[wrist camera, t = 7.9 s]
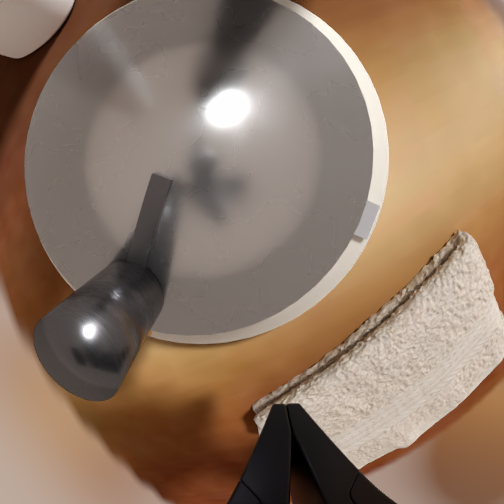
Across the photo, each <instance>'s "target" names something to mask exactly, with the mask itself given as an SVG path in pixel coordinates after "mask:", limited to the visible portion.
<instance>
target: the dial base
mask: <svg viewBox="0 0 504 504" xmlns="http://www.w3.org/2000/svg"><path fill="white" fill-rule="evenodd" d="M135 1H138V0H134V1H132V2H130V3H128V4H126V5H125V6H127V5H129V4H131V3H133V2H135ZM273 1H275V2H277V3H279V4H281V5H283V6H285V7H287V8H289V9H291V10H293V11H294V12H296V13H297V14H299V15H300V16H302V17H303V18H305V19H306V20H307V21H309V22H310V23H312V24H313V25H314V26H315V27H316V28H317V29H318V30H319V31H320V32H322V33H323V34H324V35H325V36H326V37H327V38H328V39H329V40H330V41H331V43H332V44H333V45H334V46H335V47H336V49H337V50H338V51H339V52H340V54H341V55H342V56H343V57H344V59H345V61H346V62H347V64H348V66H349V67H350V69H351V71H352V72H353V74H354V76H355V78H356V80H357V82H358V84H359V87H360V89H361V92H362V94H363V97H364V99H365V102H366V106H367V110H368V114H369V118H370V122H371V128H372V138H373V150H374V151H373V170H372V179H371V184H370V189H369V194H368V199H367V202H366V205H365V208H364V211H363V214H362V217H361V220H360V222H359V225H358V227H357V229H356V231H355V233H354V235H353V237H352V239H351V241H350V242H349V244H348V246H347V248H346V249H345V251H344V252H343V254H342V255H341V256H340V258H339V259H338V261H337V262H336V264H335V265H334V266H333V268H332V269H331V270H330V271H329V272H328V273H327V274H326V275H325V276H324V277H323V279H322V280H321V281H320V282H319V283H318V284H317V285H316V286H315V287H314V288H312V289H311V290H310V291H309V292H308V293H306V294H305V295H304V296H303V297H302V298H300V299H299V300H298V301H296V302H295V303H293V304H292V305H290V306H289V307H287V308H285V309H284V310H282V311H281V312H279V313H277V314H275V315H273V316H271V317H269V318H267V319H265V320H263V321H260V322H258V323H256V324H253V325H250V326H247V327H244V328H240V329H237V330H234V331H229V332H223V333H217V334H211V335H191V336H187V335H175V334H165V333H160V332H156V331H151V330H150V332H149V334H148V335H147V336H150V337H153V338H156V339H161V340H166V341H172V342H178V343H190V344H212V343H225V342H231V341H236V340H241V339H245V338H250V337H253V336H256V335H259V334H262V333H265V332H267V331H270V330H273V329H275V328H277V327H279V326H281V325H283V324H285V323H287V322H289V321H291V320H293V319H295V318H297V317H298V316H300V315H301V314H303V313H304V312H306V311H307V310H308V309H310V308H311V307H313V306H314V305H316V304H317V303H318V302H319V301H320V300H321V299H323V298H324V297H325V296H326V295H327V294H328V293H329V292H330V291H332V290H333V289H334V288H335V287H336V286H337V284H338V283H339V282H340V281H341V280H342V279H343V278H344V276H345V275H346V274H347V273H348V272H349V271H350V269H351V268H352V267H353V265H354V264H355V262H356V261H357V259H358V258H359V256H360V254H361V253H362V251H363V250H364V248H365V247H366V244H367V242H368V240H369V238H370V236H371V234H372V232H373V230H374V228H375V226H376V223H377V220H378V217H379V214H380V211H381V207H382V204H383V201H384V196H385V190H386V184H387V178H388V162H389V147H388V138H387V130H386V123H385V119H384V115H383V111H382V108H381V104H380V101H379V98H378V95H377V93H376V91H375V88H374V86H373V84H372V82H371V79H370V77H369V75H368V73H367V72H366V70H365V69H364V67H363V65H362V64H361V62H360V61H359V59H358V57H357V56H356V54H355V53H354V52H353V51H352V49H351V48H350V47H349V46H348V45H347V44H346V42H345V41H344V40H343V39H342V38H341V37H340V36H339V35H338V34H337V33H336V32H335V31H334V30H333V29H332V28H331V27H329V26H328V25H327V24H326V23H325V22H324V21H322V20H321V19H320V18H319V17H317V16H316V15H314V14H313V13H311V12H310V11H308V10H306V9H305V8H303V7H302V6H300V5H298V4H296V3H294V2H292V1H290V0H273ZM125 6H123V7H125ZM123 7H121V8H123ZM121 8H119V9H121ZM119 9H117V10H119ZM117 10H115V11H114V12H116V11H117ZM114 12H112V13H114ZM112 13H111V14H112ZM111 14H109V15H111ZM109 15H108V16H109ZM108 16H106V17H108ZM106 17H105V18H106ZM105 18H104V19H105ZM102 20H103V19H102ZM102 20H101V21H102ZM98 23H99V22H98ZM95 25H96V24H95ZM95 25H94V26H95ZM94 26H93V27H94ZM87 32H88V31H87ZM87 32H86V33H87ZM34 226H35V225H34ZM36 231H37V230H36ZM40 241H41V240H40ZM41 243H42V242H41ZM42 245H43V244H42ZM43 247H44V246H43ZM44 249H45V248H44ZM45 251H46V250H45ZM46 253H47V252H46ZM47 255H48V253H47ZM48 256H49V255H48ZM49 258H50V257H49ZM50 260H51V258H50ZM51 262H52V263H53V261H52V260H51ZM53 265H54V266H55V264H54V263H53ZM55 268H56V269H57V270H58V268H57V267H56V266H55ZM58 272H59V273H60V271H59V270H58ZM60 275H61V276H62V277H63V279H64V280H65V281H66V282H67V284H68V285H69V286H70V287H71V288H72V289H73V290H74V291H76V289H75V288H74V287H73V286H72V285H71V284H70V283H69V282H68V281H67V279H66V278H65V277H64V276H63V275H62V274H61V273H60Z"/></svg>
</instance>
